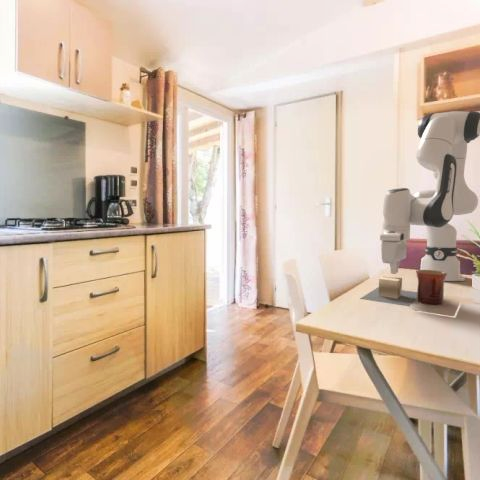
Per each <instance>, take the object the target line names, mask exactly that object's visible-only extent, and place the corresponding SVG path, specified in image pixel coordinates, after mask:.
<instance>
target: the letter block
mask: <svg viewBox="0 0 480 480" xmlns="http://www.w3.org/2000/svg"><path fill="white" fill-rule="evenodd" d="M378 287H379V296H382V297H389V298H396V299H397V298H399V297H400V296H401V292H402V290H403V289H402V288H403V278H402V277H396V276H395V277H394V276H382V277H380V278H378Z"/></svg>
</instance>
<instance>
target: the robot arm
mask: <svg viewBox="0 0 480 480" xmlns="http://www.w3.org/2000/svg"><path fill="white" fill-rule="evenodd" d="M417 135H418V137H419V139H420V140H419V144H418V146H417V149H416V152H415V157H416V161H417V163H419V165H420V166H422V167H423V168H424V169H426V170H429V171H432V172H433V173H432V174H433V176H434V178H435V179H436V187H435V189H425V190H420V191H416V192H415V193H414V194H413V195H412V194H411V191H410V188H407V187H401V188H400V187H399V188H393V189H389V190H387V191H386V192H385V195H384V199H383V211H382V214H383V222H382V231H381V233H380V235H379V240H380V241H381V245H380V248H381V262H382V264H387V265H388V264H389V267H390V274H393V275H396V274H398V273H399V266H400V261H402V260H404V259H406V258H407V241H409V240H410V237H411V226H425V228H426V246H425V248H424V252H425V255H424V256H423V257H422V258H421V261H420V269H419V270H435V271H442V272H446V273H447V276H446V278H445V281H444V282H465V281H466V278H465V277H464V276H463V274H461V272H462V270H461V261H460V260H459V259H458V258H457V255H458V247H457V229H456V227H455V226H453V225H452V224H451V223H449V222H450V221H451V220H452V219H453V216H461V215H462V216H463V215H469V214H472V213H474V211H475V210H476V209H477V208H478V205H479V199H478V196H477V194H476V193H475V192H474V191H473V190H471V189H470V187H469V186H468V184H467V183H466V180H465V168H466V167H465V166H466V158H467V151H468V144H469V143H471V141H474V140H476V139H477V138H479V137H480V112H479V111H473V110H472V111H471V110H470V111H462V110H461V111H459V110H458V111H457V110H455V111H453V110H452V111H445V112H437V113H428V114H425V115H423V117H421V118H420V120H419V122H418V125H417ZM415 276H416V277H417V274H415Z"/></svg>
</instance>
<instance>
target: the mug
mask: <svg viewBox="0 0 480 480" xmlns="http://www.w3.org/2000/svg"><path fill="white" fill-rule="evenodd" d="M415 273H416V274H417V276H416V277H417V291H416V292H417V302H419V303H420V304H424V305H430V306H431V305H432V306H439V305H443V301H444V298H445V297H444V293H445V288H444V286H445V282H446V281H445V278H446V276H447V273H446V272H442V271H435V270H420V269H418V270H415ZM416 274H415V275H416Z"/></svg>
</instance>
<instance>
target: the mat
mask: <svg viewBox="0 0 480 480" xmlns="http://www.w3.org/2000/svg"><path fill="white" fill-rule="evenodd" d="M359 299H360V300H366V301H373V302H378V303H379V302H380V303H386V304H390V305H398V306H405V307H410V306H411V305H413V303H414V302H415V301H416V299H417V300H418V298H417V291H410V290H403V289H402V292H401V296H400V297H399V298H397V299H396V298H389V297H382V296H379V286H378V287H376V288H374V289H373V290H372V291H370V292H367V294H365V295H363V296H362V297H360V298H359Z"/></svg>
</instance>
